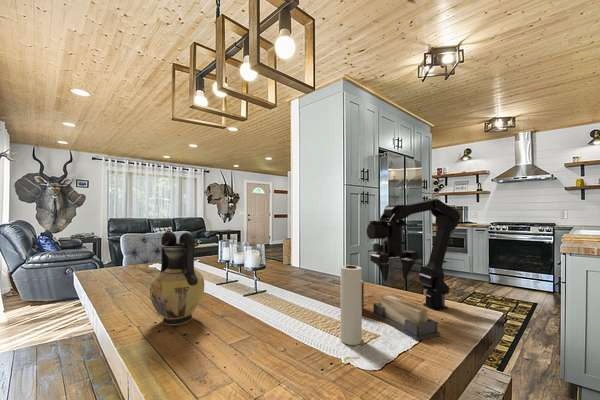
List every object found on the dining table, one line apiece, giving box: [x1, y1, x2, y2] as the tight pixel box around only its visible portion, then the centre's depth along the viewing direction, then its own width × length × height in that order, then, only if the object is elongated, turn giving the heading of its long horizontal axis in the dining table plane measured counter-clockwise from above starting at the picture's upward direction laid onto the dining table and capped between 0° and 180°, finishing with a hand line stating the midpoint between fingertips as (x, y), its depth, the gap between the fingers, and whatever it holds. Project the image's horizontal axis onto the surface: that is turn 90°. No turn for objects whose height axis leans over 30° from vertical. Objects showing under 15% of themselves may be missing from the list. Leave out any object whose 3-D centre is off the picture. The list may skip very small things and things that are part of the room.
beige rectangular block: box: [380, 295, 428, 325], centre depth 94 cm, size 4×16×6 cm, turn 27°
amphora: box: [149, 231, 205, 326], centre depth 96 cm, size 18×17×30 cm
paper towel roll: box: [339, 263, 363, 346], centre depth 83 cm, size 7×6×21 cm
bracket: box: [371, 301, 441, 342], centre depth 94 cm, size 9×22×4 cm, turn 21°
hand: (395, 279), depth 106 cm, fingers open, 9 cm apart
